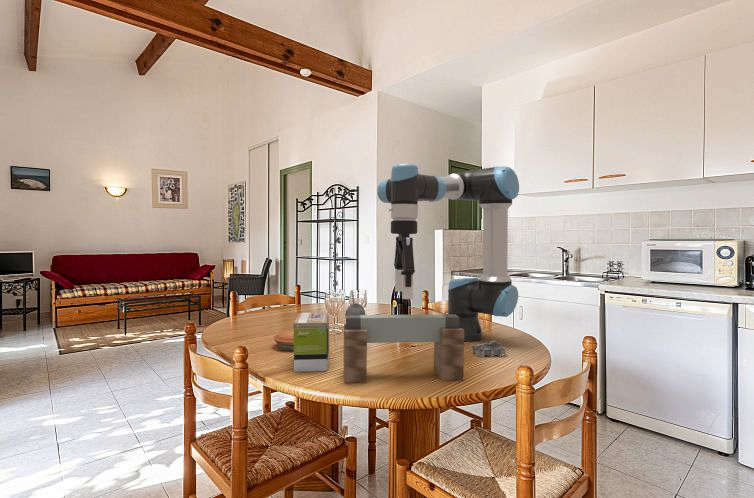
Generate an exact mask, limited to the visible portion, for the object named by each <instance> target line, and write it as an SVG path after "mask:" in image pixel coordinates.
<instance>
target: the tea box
mask: <svg viewBox="0 0 754 498" xmlns="http://www.w3.org/2000/svg"><path fill="white" fill-rule="evenodd" d="M292 330H293V332H294V351H293V371H294V372H296V373H298V372H300V373H301V372H302V373H303V372H304V373H305V372H307V373H308V372H327V371H328V366H329V361H330V359H329V357H330V319H329V312H328V311H327V312H325V311H324V312H298V313H297V315H296V319H295V320H294V322H293V329H292Z"/></svg>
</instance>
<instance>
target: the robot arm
mask: <svg viewBox="0 0 754 498" xmlns="http://www.w3.org/2000/svg"><path fill="white" fill-rule="evenodd" d="M519 182H520V181H519V178H518V176H517V174H516V172H515V170H514V169H512V168H511V167H510V166H494V167H485V168H479V169H471V170H470V169H469V170H466V171H463V172H462V171H461V172H457V173H450V174H448V175H446V176H436V175H427V174H420V173H419V168H418V165H416V164H414V163H397V164H394V165H393V166H392V167H391V175H390V178H389V179H388V178H387V179H385V180H382V181H380V182H379V183H378V186H377V189H376V192H377V197H378V199H379V200H380V201H381V202H382V203H385V204H390V207H389V208H388V212H391V213H390V218H391V219H392V220H391V222H390V234H393V235H397V236H396V237H395V249H394V250H395V251H394V261H393V266H394V270H395V271H394V292H401V296H402V297H401V298H402V300H413V298H414V297H413V295H414V294H413V293H414V287H413V286H414V283H413V282H414V274H415V273H416V270H415V259H414V257H415V256H414V249H413V248H414V247H413V246H414V245H413V244H414V243H413V242H414V239H413V237H411V236H410V235H416V234H418V221H417V219H418V218H419V217H418V216H419V214H418V213H419V204H418V202H429V203H431V202H439V201H441V200H442V199H446V198H447V199H448V200H453V201H454V200H455V201H456V200H459V201H460V200H461V201H473V202H474V201H476V202H477V201H478V205H479V207H480V208H481V209H483V211H482V213H483V215H482V216H483V217H482V220H483V221H482V222H483V223H482V225H483V227H482V229H483V230H482V231H483V232H482V237H483V239H482V244H483V245H482V246H483V247H482V248H483V249H482V264H483V265H482V275H481V276H480V277H479V278H478V277H464V278H453V279H451V280H449V282H448V289H447V293H448V295H447V297H448V299H447V314H456V315H457V316H458V317H459V328H462V329H463V330H464V342H474V341H475V342H476V341H480V340H482V339H483V330H482V327H481V323H480V320H479V314H483V315H490V316H493V317H502V318H504V317H505V318H507V317H509V316H510V315H511V314H512V313H513V312H514V311H515V309H516V307H517V304H518V300H519V291H518V288H517V286H515V285H513V284H512V283H513V281H512V280H513V279H512V278H511V277H510V276H509V275H508V254H509V253H508V248H509V247H508V237H509V234H508V233H509V232H508V231H509V229H508V227H509V225H508V224H509V223H508V221H509V220H508V219H509V215H508V214H509V213H508V212H509V208H510V207H511V206H512V205H513V200H514V199H517V197H518V195H519V192H520V183H519Z"/></svg>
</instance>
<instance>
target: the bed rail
mask: <svg viewBox="0 0 754 498" xmlns="http://www.w3.org/2000/svg"><path fill="white" fill-rule="evenodd" d="M345 323H346V330H356V329H366V330H367V344H381V343H382V344H385V343H386V344H390V343H391V344H393V343H398V344H399V343H434V342H441V329H443V328H459V317H458V316H457V315H456V314H448V313H447V314H443V313H442V314H366V315H346V316H345Z"/></svg>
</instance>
